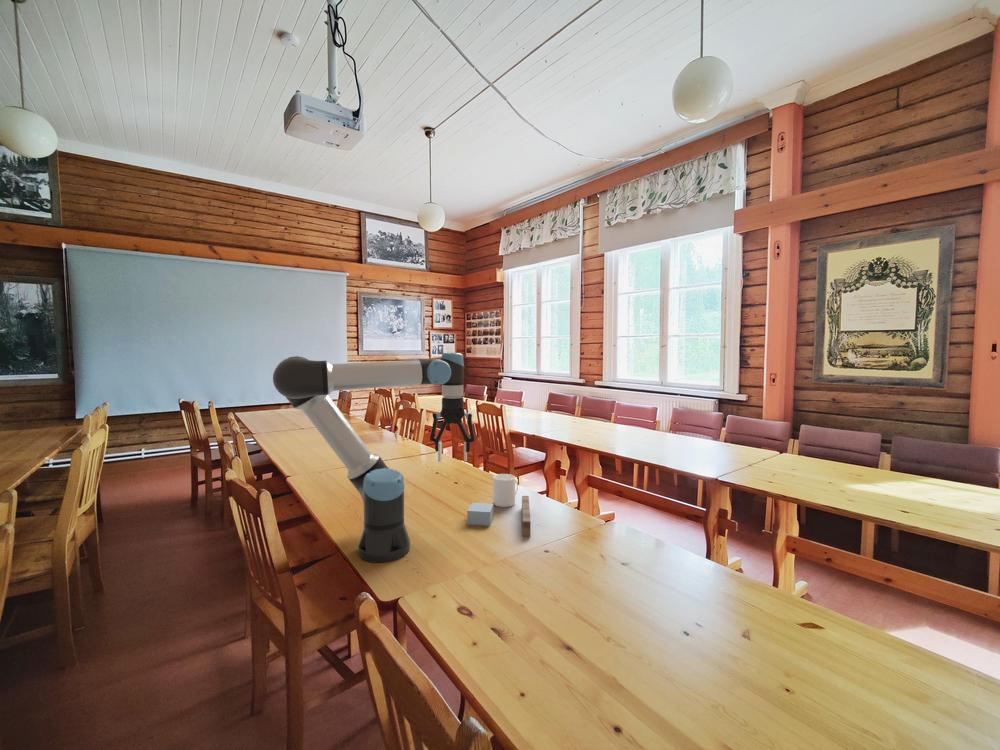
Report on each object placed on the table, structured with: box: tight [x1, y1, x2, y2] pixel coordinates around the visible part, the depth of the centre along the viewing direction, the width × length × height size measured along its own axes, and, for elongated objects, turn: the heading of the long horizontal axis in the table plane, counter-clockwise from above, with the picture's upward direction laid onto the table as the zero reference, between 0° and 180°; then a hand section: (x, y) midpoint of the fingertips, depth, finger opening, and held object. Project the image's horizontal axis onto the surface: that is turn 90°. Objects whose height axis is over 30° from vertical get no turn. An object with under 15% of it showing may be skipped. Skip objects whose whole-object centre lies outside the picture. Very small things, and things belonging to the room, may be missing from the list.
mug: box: [492, 473, 519, 508], centre depth 168 cm, size 9×12×11 cm
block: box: [466, 502, 495, 527], centre depth 151 cm, size 8×8×5 cm
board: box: [521, 495, 531, 537], centre depth 150 cm, size 24×2×5 cm, turn 178°
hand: (452, 460), depth 150 cm, fingers open, 8 cm apart
